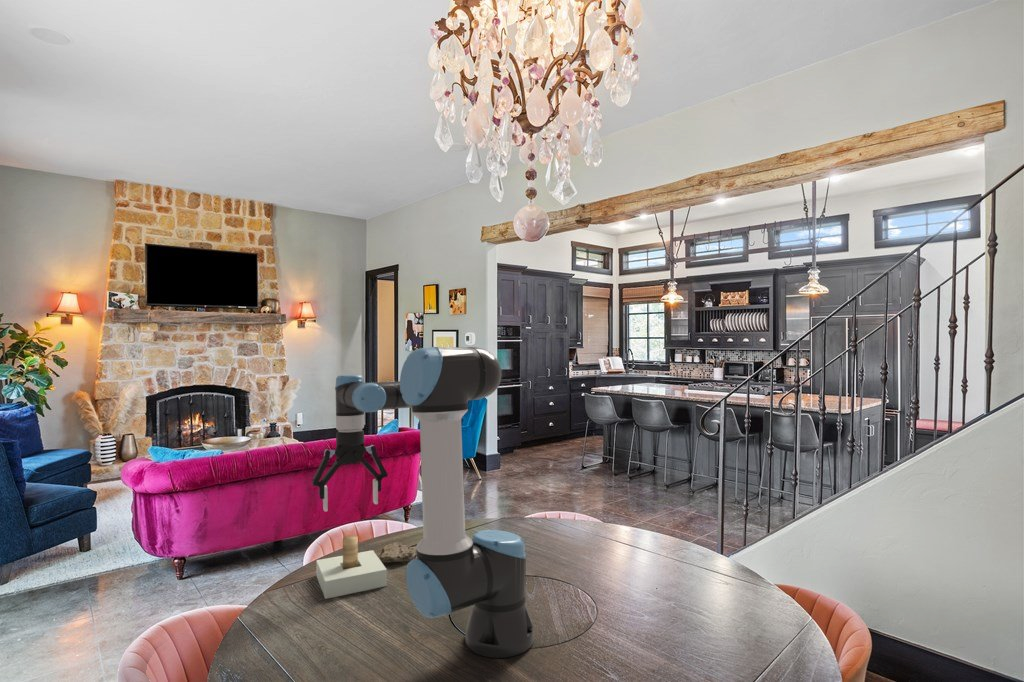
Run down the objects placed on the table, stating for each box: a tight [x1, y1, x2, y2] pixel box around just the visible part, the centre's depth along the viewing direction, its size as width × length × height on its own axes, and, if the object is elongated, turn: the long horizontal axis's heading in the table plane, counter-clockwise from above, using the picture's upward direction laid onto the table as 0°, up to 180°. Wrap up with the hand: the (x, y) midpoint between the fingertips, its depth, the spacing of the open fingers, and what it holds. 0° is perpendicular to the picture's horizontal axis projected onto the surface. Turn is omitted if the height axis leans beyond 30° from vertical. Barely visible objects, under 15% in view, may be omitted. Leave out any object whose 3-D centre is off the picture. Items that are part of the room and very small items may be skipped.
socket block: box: [315, 549, 388, 600], centre depth 151 cm, size 16×16×4 cm
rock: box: [378, 541, 417, 564], centre depth 166 cm, size 11×11×4 cm
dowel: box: [342, 534, 359, 570], centre depth 152 cm, size 4×4×12 cm
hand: (351, 506), depth 151 cm, fingers open, 13 cm apart
